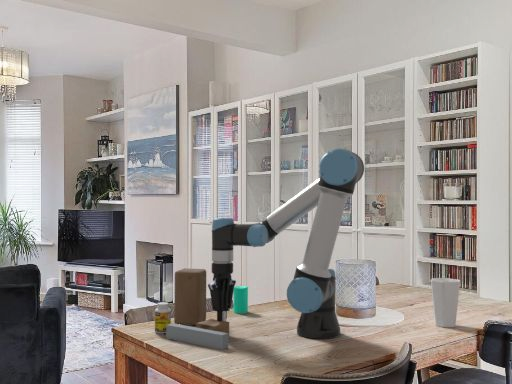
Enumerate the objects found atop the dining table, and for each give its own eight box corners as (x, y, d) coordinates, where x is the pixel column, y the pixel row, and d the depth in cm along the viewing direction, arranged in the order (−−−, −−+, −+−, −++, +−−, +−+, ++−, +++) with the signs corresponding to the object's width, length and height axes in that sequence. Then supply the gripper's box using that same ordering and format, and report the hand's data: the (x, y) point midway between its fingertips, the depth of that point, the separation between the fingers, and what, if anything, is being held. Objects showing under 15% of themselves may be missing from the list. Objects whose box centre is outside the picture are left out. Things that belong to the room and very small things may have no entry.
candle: (250, 311, 229) (250, 282, 229) (243, 313, 224) (244, 284, 224) (237, 310, 232) (237, 281, 232) (230, 312, 226) (231, 283, 226)
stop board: (228, 347, 173) (228, 333, 173) (222, 349, 170) (222, 335, 170) (172, 336, 186) (172, 323, 186) (166, 338, 184) (166, 324, 184)
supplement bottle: (151, 333, 191) (152, 304, 191) (159, 329, 196) (159, 301, 196) (166, 334, 189) (166, 305, 189) (173, 331, 194) (173, 302, 194)
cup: (433, 321, 212) (433, 277, 212) (461, 323, 207) (461, 279, 208) (429, 327, 202) (429, 281, 202) (458, 330, 197) (458, 282, 198)
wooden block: (199, 326, 202) (199, 272, 202) (173, 324, 204) (173, 271, 204) (206, 320, 211) (207, 268, 212) (182, 319, 213) (182, 268, 214)
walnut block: (229, 336, 187) (229, 321, 187) (214, 341, 181) (214, 326, 181) (211, 333, 192) (211, 318, 192) (196, 337, 185) (196, 323, 185)
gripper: (225, 259, 198) (224, 324, 197) (202, 263, 187) (201, 331, 187) (242, 261, 193) (241, 327, 193) (219, 264, 183) (218, 335, 182)
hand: (221, 329), depth 190 cm, fingers closed
